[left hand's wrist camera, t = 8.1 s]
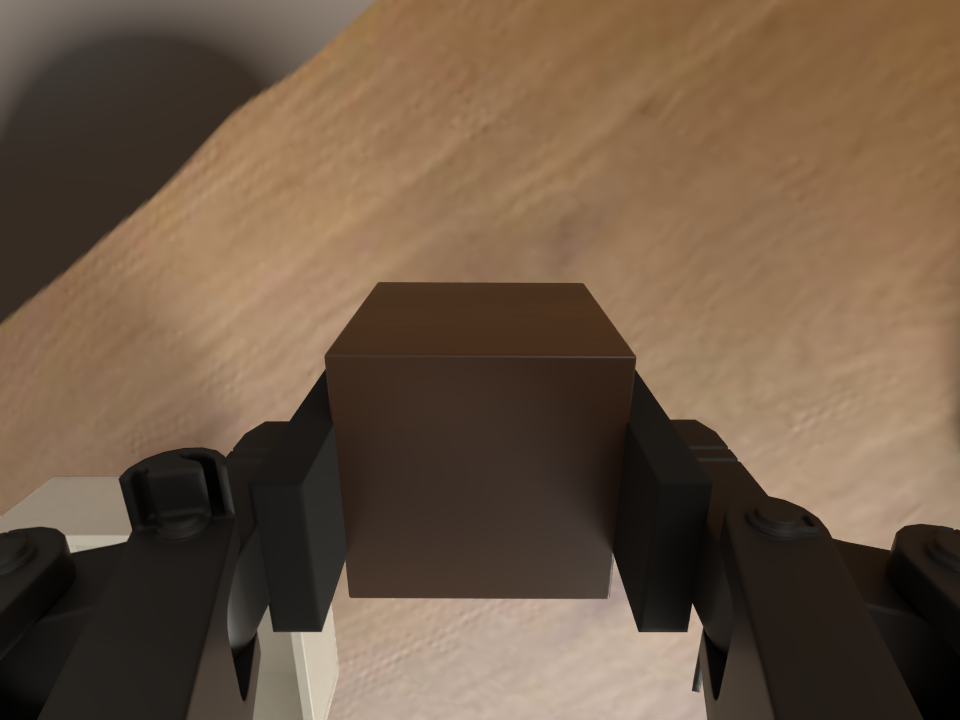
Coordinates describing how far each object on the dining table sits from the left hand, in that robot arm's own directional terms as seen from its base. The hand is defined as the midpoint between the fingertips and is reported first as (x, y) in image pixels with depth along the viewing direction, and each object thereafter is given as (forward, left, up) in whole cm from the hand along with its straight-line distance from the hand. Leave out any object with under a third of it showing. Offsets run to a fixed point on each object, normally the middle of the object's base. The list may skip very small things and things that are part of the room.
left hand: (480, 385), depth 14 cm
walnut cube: (0, 0, 0) cm, 0 cm away
